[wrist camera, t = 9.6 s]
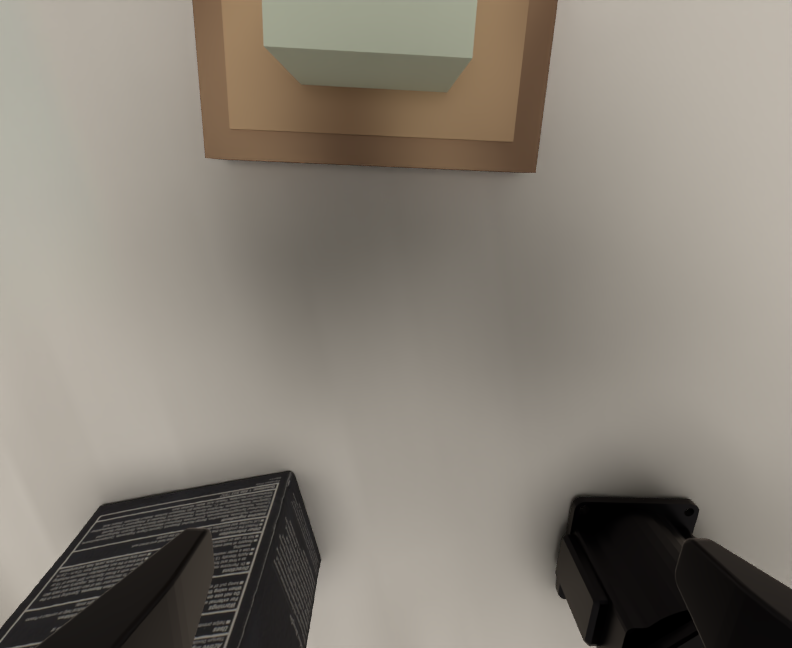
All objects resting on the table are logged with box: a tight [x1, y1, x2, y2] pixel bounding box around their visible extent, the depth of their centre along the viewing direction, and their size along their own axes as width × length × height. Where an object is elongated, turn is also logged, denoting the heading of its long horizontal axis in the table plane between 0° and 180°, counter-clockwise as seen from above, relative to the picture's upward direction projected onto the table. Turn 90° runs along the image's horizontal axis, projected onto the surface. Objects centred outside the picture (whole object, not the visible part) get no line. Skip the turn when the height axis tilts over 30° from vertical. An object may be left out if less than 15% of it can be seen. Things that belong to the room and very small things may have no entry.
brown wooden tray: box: [192, 0, 558, 173], centre depth 16 cm, size 12×10×2 cm
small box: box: [0, 471, 321, 648], centre depth 20 cm, size 11×6×10 cm, turn 102°
